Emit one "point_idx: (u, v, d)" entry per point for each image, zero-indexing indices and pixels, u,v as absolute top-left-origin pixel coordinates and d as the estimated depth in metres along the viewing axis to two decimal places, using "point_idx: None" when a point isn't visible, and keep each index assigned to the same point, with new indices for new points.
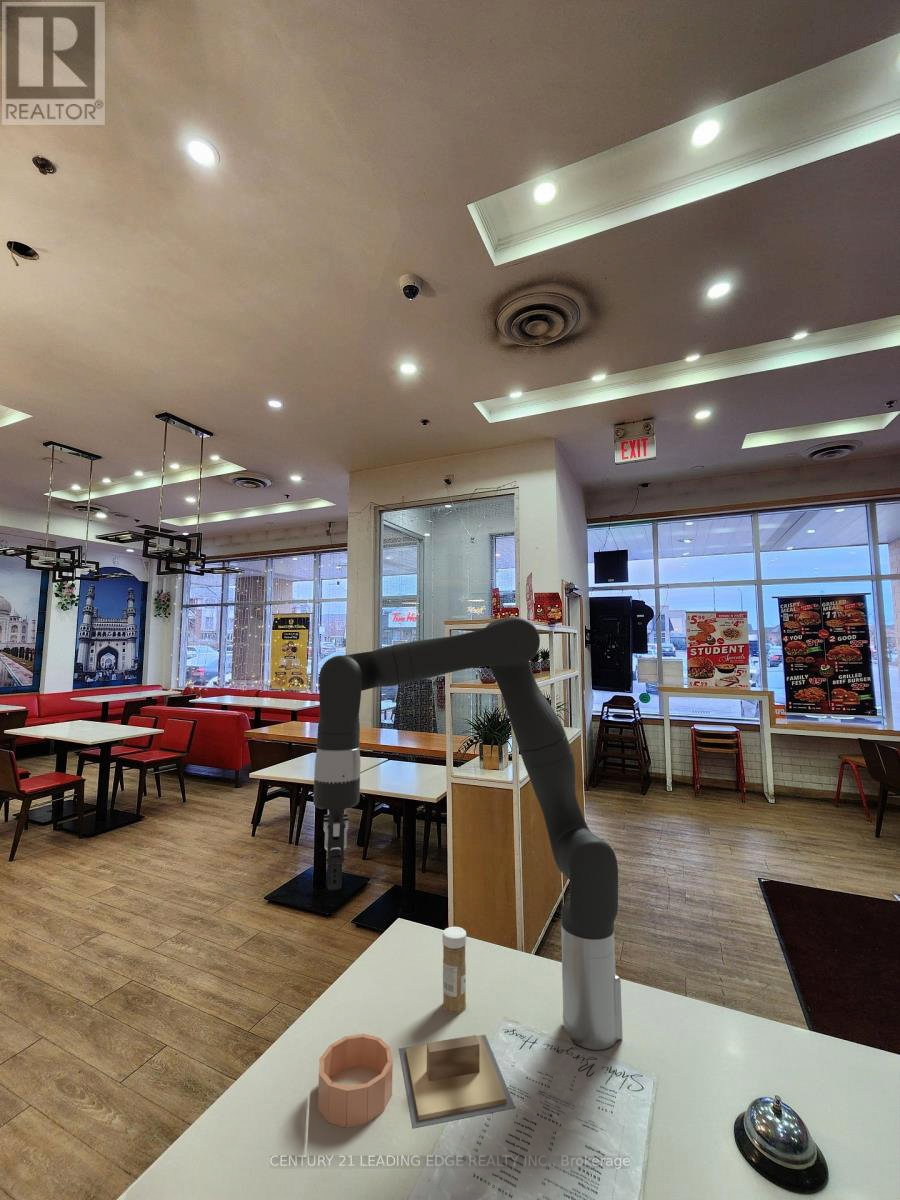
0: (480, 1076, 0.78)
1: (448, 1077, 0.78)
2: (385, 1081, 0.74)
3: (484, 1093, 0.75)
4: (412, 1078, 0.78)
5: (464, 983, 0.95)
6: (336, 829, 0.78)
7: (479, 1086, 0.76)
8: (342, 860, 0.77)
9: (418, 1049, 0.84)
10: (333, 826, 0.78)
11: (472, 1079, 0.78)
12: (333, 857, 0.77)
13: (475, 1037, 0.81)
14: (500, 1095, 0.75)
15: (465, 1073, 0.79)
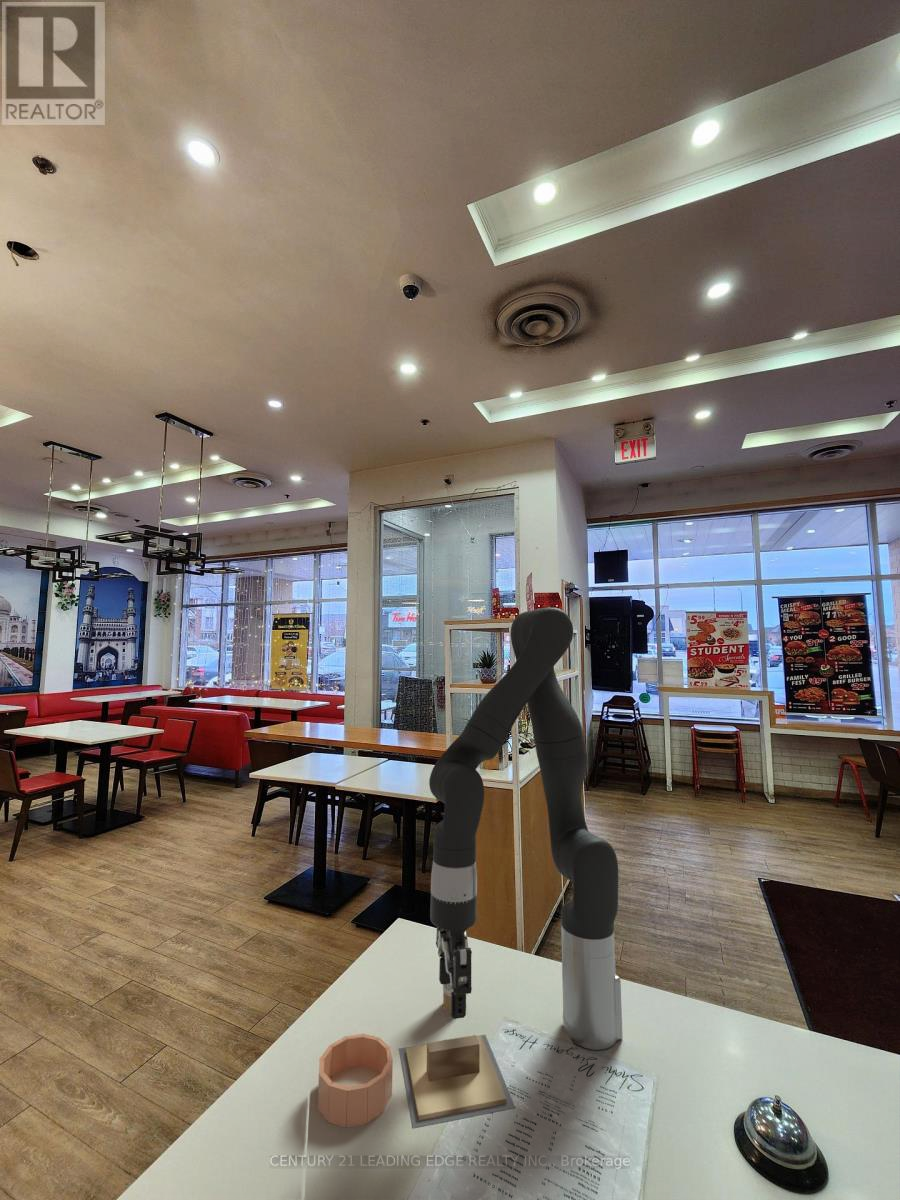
0: (480, 1076, 0.78)
1: (448, 1077, 0.78)
2: (385, 1081, 0.74)
3: (484, 1093, 0.75)
4: (412, 1078, 0.78)
5: None
6: (463, 957, 0.75)
7: (479, 1086, 0.76)
8: (470, 990, 0.74)
9: (418, 1049, 0.84)
10: (460, 953, 0.75)
11: (472, 1079, 0.78)
12: (461, 987, 0.74)
13: (475, 1037, 0.81)
14: (500, 1095, 0.75)
15: (465, 1073, 0.79)
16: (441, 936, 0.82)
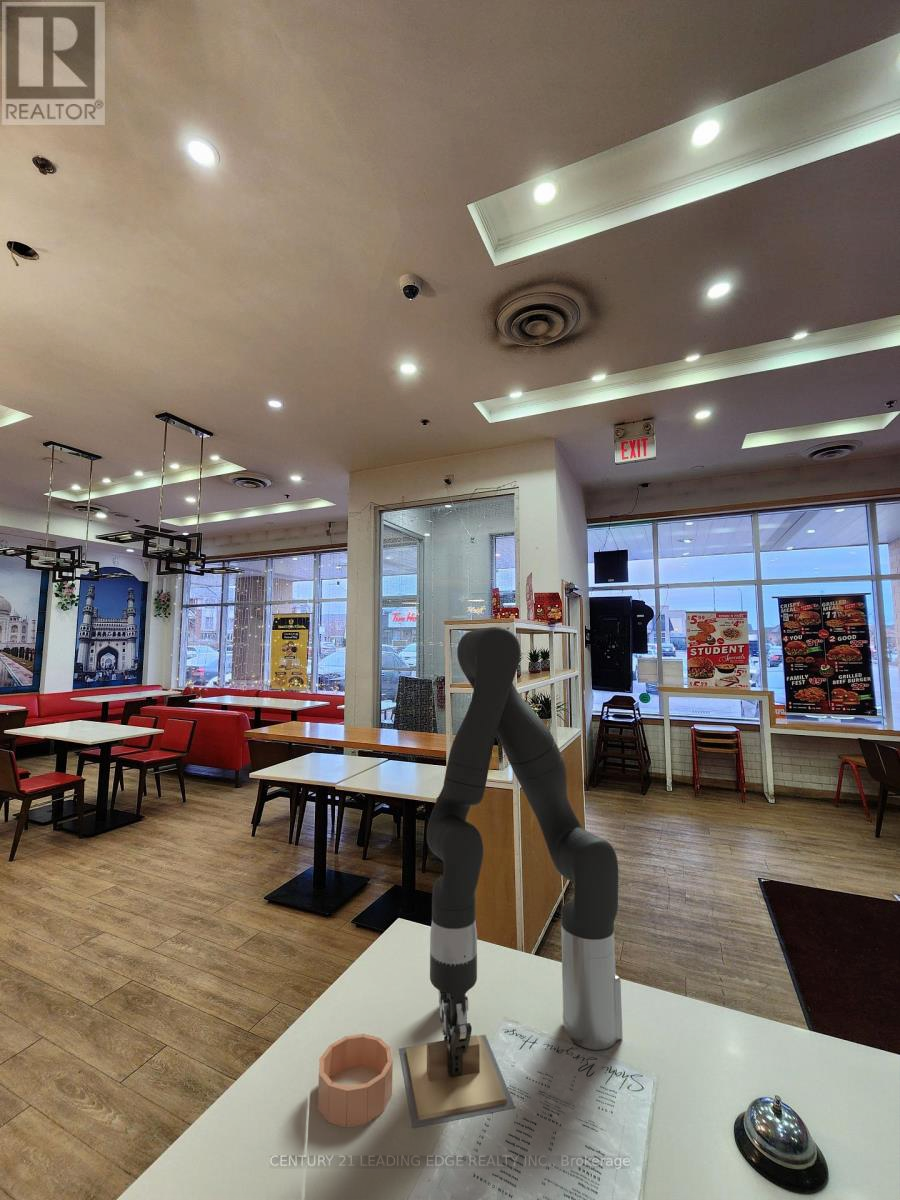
0: (480, 1076, 0.78)
1: (448, 1077, 0.78)
2: (385, 1081, 0.74)
3: (484, 1093, 0.75)
4: (412, 1078, 0.78)
5: None
6: (463, 1035, 0.74)
7: (479, 1086, 0.76)
8: (466, 1052, 0.76)
9: (418, 1049, 0.84)
10: (460, 1033, 0.74)
11: (472, 1079, 0.78)
12: (457, 1047, 0.76)
13: (475, 1037, 0.81)
14: (500, 1095, 0.75)
15: (465, 1073, 0.78)
16: (441, 993, 0.81)
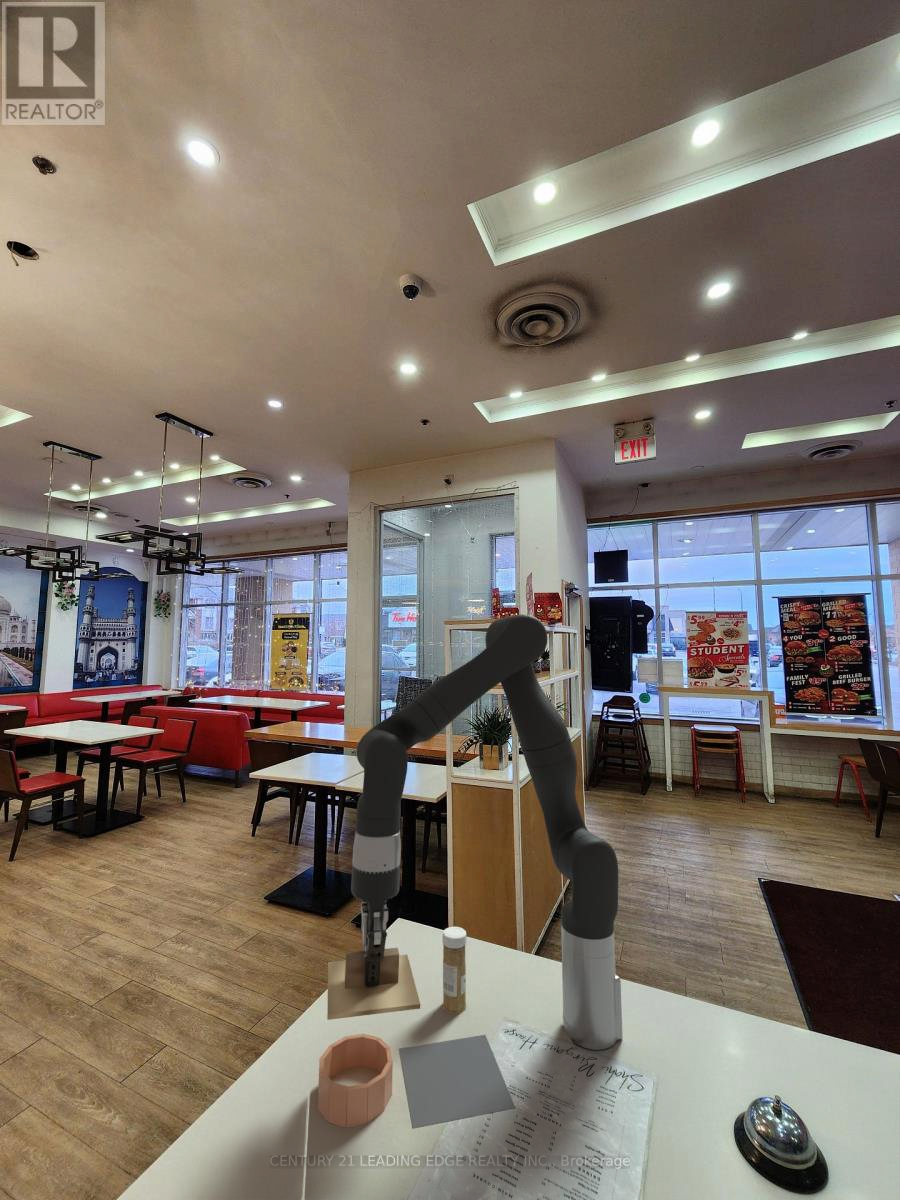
0: (398, 986, 0.77)
1: (365, 986, 0.77)
2: (385, 1081, 0.74)
3: (398, 999, 0.74)
4: (328, 986, 0.77)
5: (464, 983, 0.95)
6: (377, 940, 0.73)
7: (395, 994, 0.75)
8: (382, 960, 0.75)
9: (341, 963, 0.83)
10: (374, 938, 0.73)
11: (389, 988, 0.76)
12: (373, 955, 0.75)
13: (396, 949, 0.80)
14: (414, 1001, 0.74)
15: (383, 983, 0.77)
16: (363, 906, 0.80)
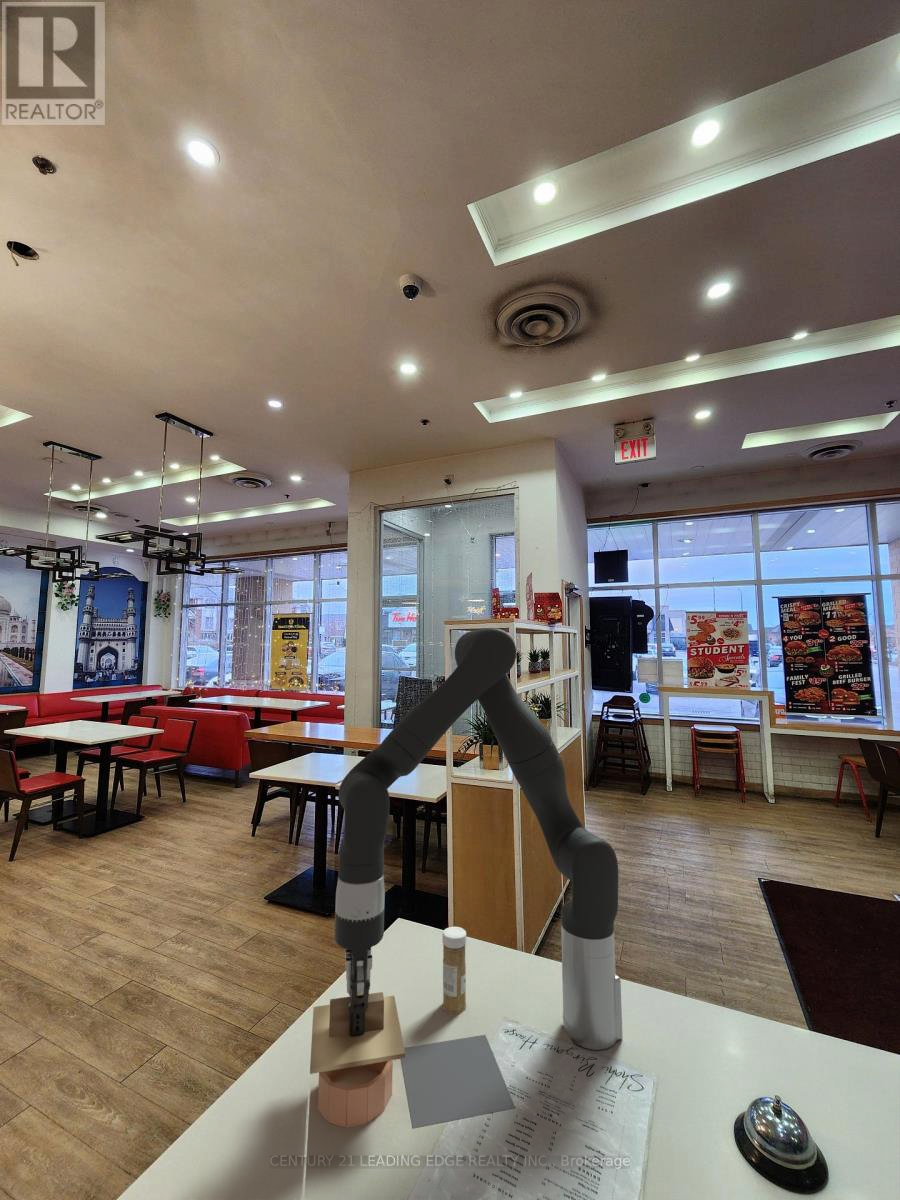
0: (383, 1032, 0.76)
1: None
2: (385, 1081, 0.74)
3: (383, 1048, 0.73)
4: (312, 1034, 0.76)
5: (464, 983, 0.95)
6: (360, 991, 0.72)
7: (380, 1042, 0.74)
8: (366, 1010, 0.74)
9: (326, 1007, 0.81)
10: (357, 989, 0.72)
11: (374, 1035, 0.75)
12: (356, 1005, 0.74)
13: (381, 994, 0.79)
14: (399, 1050, 0.72)
15: (368, 1029, 0.76)
16: (347, 952, 0.79)
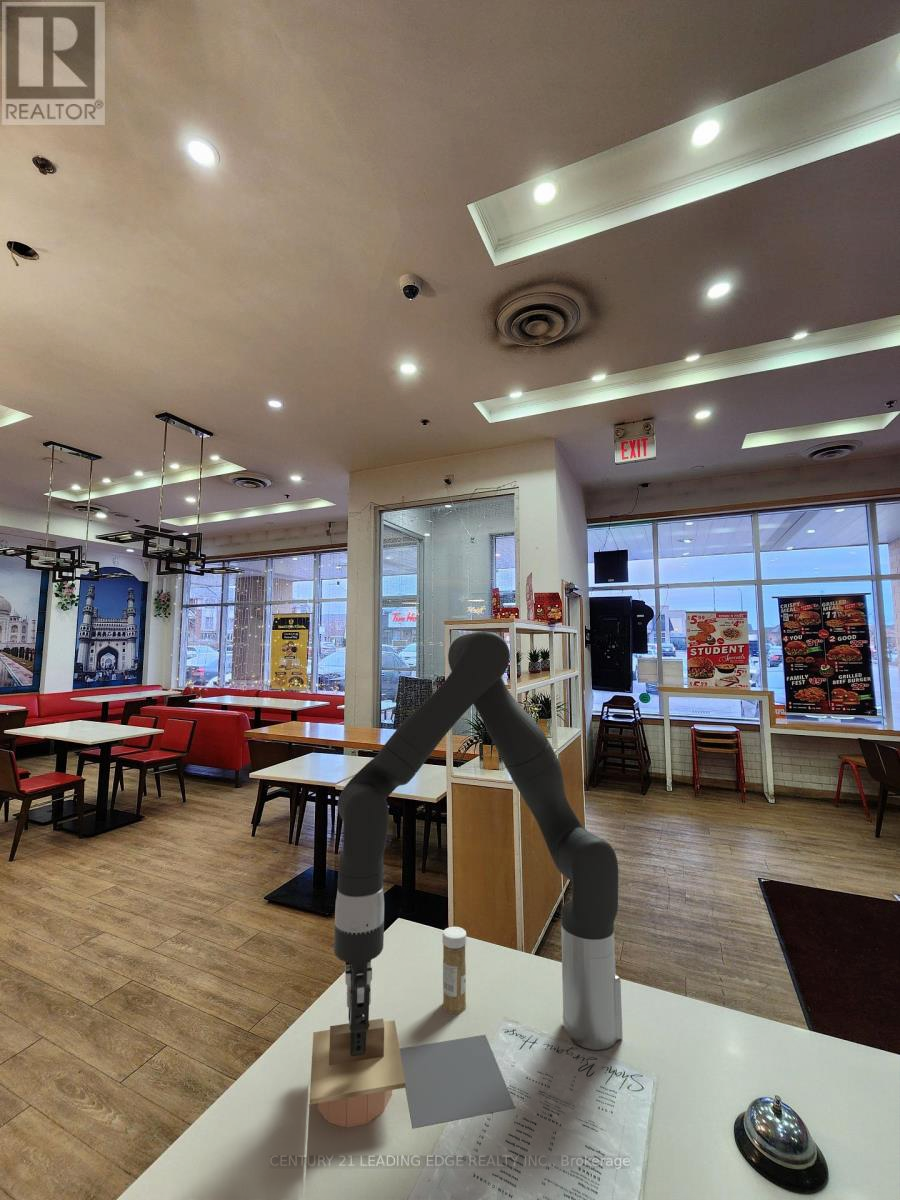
0: (383, 1060, 0.75)
1: (350, 1061, 0.75)
2: None
3: (383, 1077, 0.72)
4: (312, 1062, 0.75)
5: (464, 983, 0.95)
6: (360, 995, 0.71)
7: (380, 1070, 0.74)
8: (367, 1028, 0.71)
9: (326, 1033, 0.81)
10: (357, 992, 0.71)
11: (374, 1063, 0.75)
12: (357, 1024, 0.71)
13: (381, 1020, 0.78)
14: (399, 1079, 0.72)
15: (368, 1057, 0.76)
16: (346, 967, 0.78)
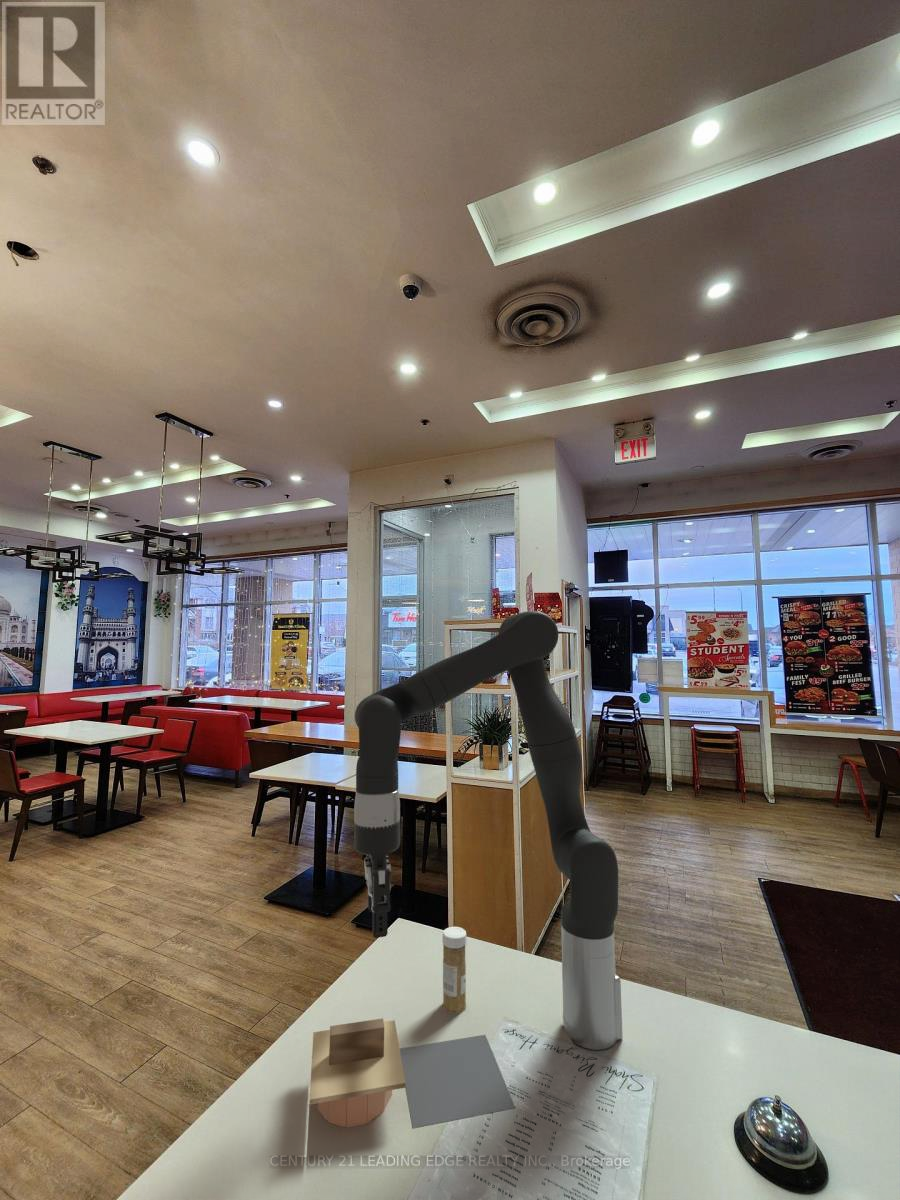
0: (383, 1060, 0.75)
1: (350, 1061, 0.75)
2: None
3: (383, 1077, 0.72)
4: (312, 1062, 0.75)
5: (464, 983, 0.95)
6: (382, 877, 0.77)
7: (380, 1070, 0.74)
8: (389, 908, 0.76)
9: (326, 1033, 0.81)
10: (378, 874, 0.77)
11: (374, 1063, 0.75)
12: (379, 905, 0.76)
13: (381, 1020, 0.78)
14: (399, 1079, 0.72)
15: (368, 1057, 0.76)
16: (366, 863, 0.84)
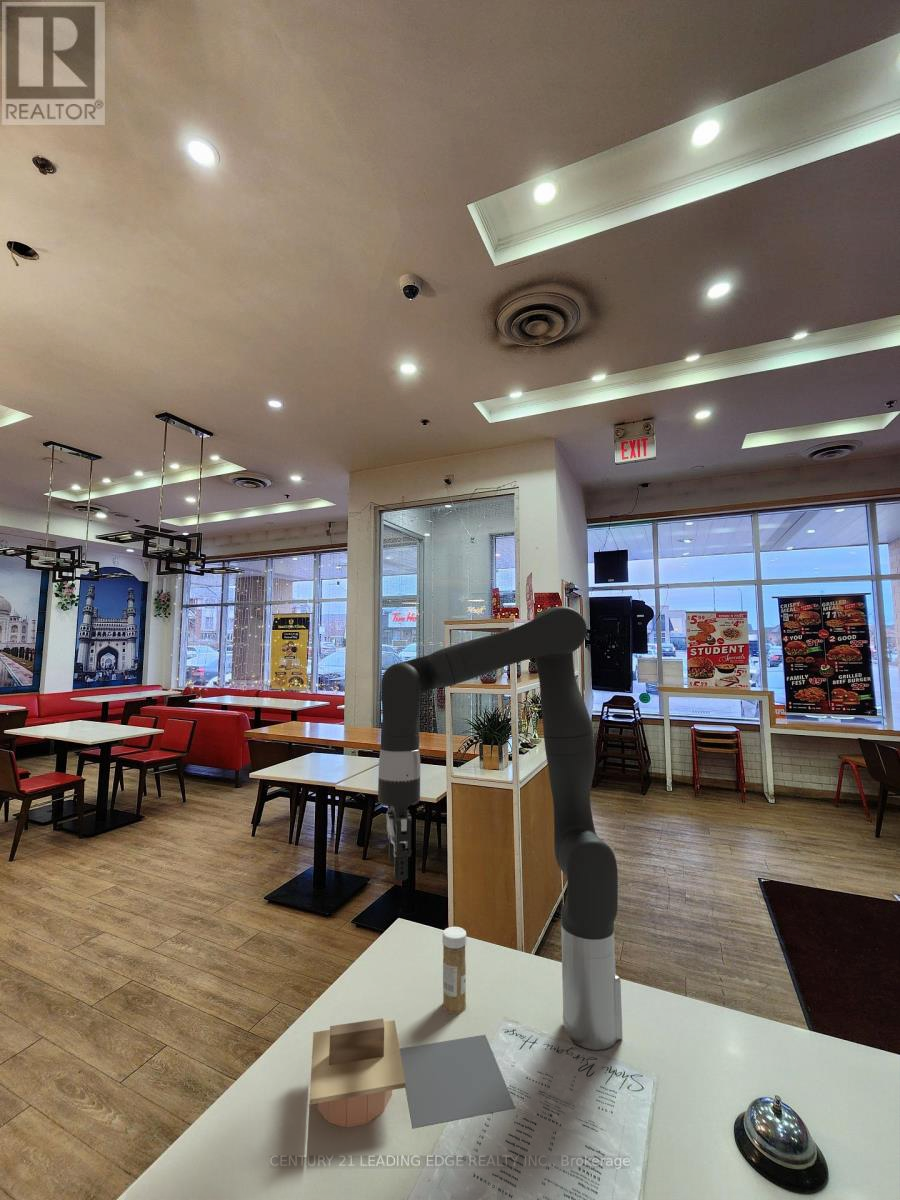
0: (383, 1060, 0.75)
1: (350, 1061, 0.75)
2: None
3: (383, 1077, 0.72)
4: (312, 1062, 0.75)
5: (464, 983, 0.95)
6: (404, 824, 0.84)
7: (380, 1070, 0.74)
8: (410, 853, 0.83)
9: (326, 1033, 0.81)
10: (401, 821, 0.84)
11: (374, 1063, 0.75)
12: (401, 850, 0.83)
13: (381, 1020, 0.78)
14: (399, 1079, 0.72)
15: (368, 1057, 0.76)
16: (388, 816, 0.91)
